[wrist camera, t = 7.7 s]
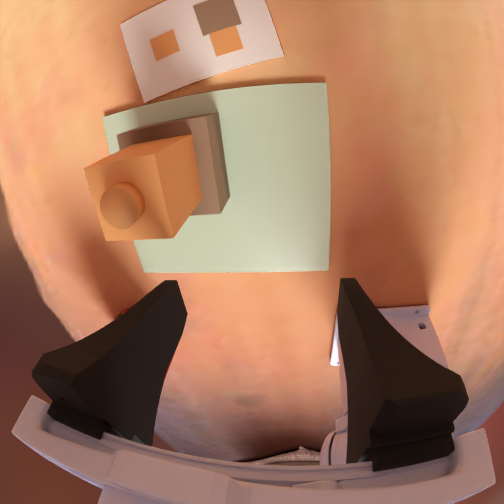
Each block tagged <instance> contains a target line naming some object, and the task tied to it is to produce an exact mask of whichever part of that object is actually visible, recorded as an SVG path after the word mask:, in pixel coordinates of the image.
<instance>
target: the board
mask: <svg viewBox="0 0 504 504" xmlns="http://www.w3.org/2000/svg"><path fill="white" fill-rule="evenodd" d="M218 112H219V119H220V126H221V134H222V141H223V148H224V156H225V163H226V170H227V177H228V184H229V192H230V198H229V200H228V201H227V203H226V205H225V207H224V209H223V211H222V213H221V214H210V215H194V216H189V217H188V219H187V220H186V222H185V223H184V224H183V226H182V227H181V228H180V230H179V231H178V233H177V234H176V236H175V237H174V238H170V239H146V240H133V241H134V244H135V247H136V250H137V253H138V256H139V259H140V262H141V265H142V268H143V271H144V272H151V273H210V272H290V271H329V253H330V221H331V163H330V131H329V112H328V96H327V83H292V84H274V85H261V86H250V87H241V88H233V89H225V90H218V91H212V92H205V93H199V94H194V95H188V96H183V97H178V98H173V99H169V100H164V101H160V102H156V103H152V104H148V105H144V106H140V107H136V108H132V109H129V110H125V111H122V112H118V113H115V114H112V115H109V116H105V117H103V123H104V128H105V133H106V138H107V143H108V147H109V152H110V155H112V154H114V153H116V152H118V151H120V149H119V145H118V140H117V135H118V134H120V133H123V132H126V131H129V130H132V129H135V128H138V127H141V126H146V125H150V124H155V123H159V122H164V121H169V120H175V119H180V118H186V117H191V116H198V115H204V114H211V113H218Z"/></svg>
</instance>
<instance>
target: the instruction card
mask: <svg viewBox="0 0 504 504" xmlns="http://www.w3.org/2000/svg"><path fill="white" fill-rule="evenodd" d="M120 27H121V31H122V34H123V38H124V41H125V44H126V48H127V51H128V54H129V58H130V61H131V64H132V67H133V70H134V74H135V77H136V80H137V83H138V86H139V89H140V92H141V95H142V98H143V101H144V103H146V102H148V101H150V100H153V99H155V98H157V97H159V96H162V95H164V94H166V93H169V92H171V91H174V90H176V89H179V88H181V87H184V86H186V85H189V84H192V83H194V82H197V81H200V80H203V79H206V78H209V77H211V76H214V75H217V74H221V73H224V72H227V71H230V70H233V69H237V68H240V67H244V66H247V65H251V64H255V63H259V62H262V61H267V60H271V59H275V58H279V57H284V54H283V51H282V48H281V45H280V42H279V39H278V36H277V33H276V30H275V27H274V24H273V21H272V18H271V15H270V13H269V10H268V7H267V5H266V2H265V0H167V1H165V2H162V3H160V4H158V5H156V6H154V7H152V8H150V9H148V10H146V11H144V12H142V13H140V14H138V15H136V16H134V17H132V18H131V19H129V20H127V21H125V22H124V23H122V24H120Z"/></svg>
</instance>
